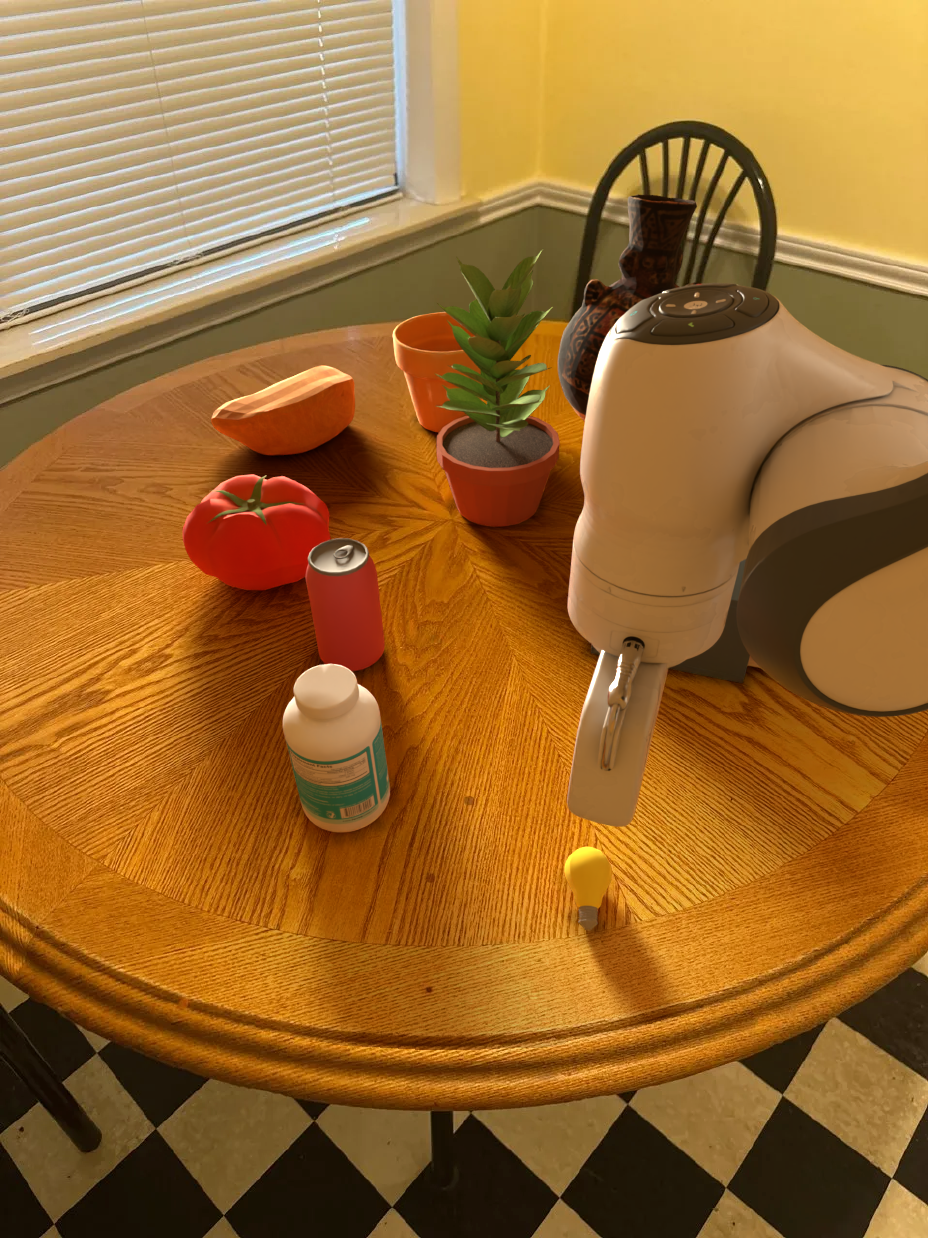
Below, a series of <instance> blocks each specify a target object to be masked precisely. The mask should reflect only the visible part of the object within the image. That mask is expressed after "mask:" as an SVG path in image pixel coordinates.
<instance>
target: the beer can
mask: <svg viewBox="0 0 928 1238" xmlns="http://www.w3.org/2000/svg"><path fill="white" fill-rule="evenodd" d="M308 562H309V563H308V566H307V570H306V576H305V582H306V583H305V584H306V588H307V594H308V599H309V607H310V611H311V617H312V622H313V628H314V633H315V640H316V644H317V650H318V651H317V652H318V656H319V659H320V660H321V661H322V663H323V665H324V664H336V665H341V666H344V667H346V668H348V669H349V670H351V671H352V672H353V673H354V672H358V671H363V670H365V669H367V668H370V667H371V666H372V665H374V664H375V663H377V662H378V661H379V660H380V658H381V657H382V656H383V654H384V651H385V646H386V643H385V634H384V625H383V616H382V605H381V598H380V588H379V578H378V571H377V567H376V565H375V562H374V560H373V558H372V557H371V554H370V551H369V548H368V547H367V546H366V544H364V543H363V542H361V541H359V540H357V539H352V538H349V537H348V538H346V537H338V538H331V540H328V541H325V542H322V543H320V544H319V545H317V546H316V547H314V548H313V549H312V551H311V552H310V553H309V556H308Z"/></svg>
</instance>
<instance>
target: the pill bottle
mask: <svg viewBox="0 0 928 1238" xmlns="http://www.w3.org/2000/svg"><path fill="white" fill-rule="evenodd" d="M293 695H294V696H293V697H292V699H290V701H289V702H288V704H287V706H286V708H285V710H284V712H283V717H282V731H283V735H284V739H285V744H286V748H287V751H288V756H289V761H290V763H291V767H292V773H293V776H294V780H295V784H296V785H295V786H296V788H297V792H298V796H299V800H300V804H301V807H302V810H303V813H304V814H305V816H306V817H307V819H308V820H309V821H310V822H311V823H312V824H313V825H314V826H316V827H318V828H319V829H322V830H324V831H328V832H332V833H350V832H355V831H358V830H361V829H363V828H366V827H368V826H369V825H371V824H372V823H374V822H375V821H376V820H377V819H378V818H379V817H381V815H382V814H383V812H384V811H385V810H386V808H387V806H388V803H389V800H390V796H391V784H390V777H389V769H388V763H387V755H386V747H385V740H384V739H385V738H384V732H383V726H382V725H383V723H382V719H381V718H382V717H381V711H380V706H379V704H378V702H377V700H376V698H375V696H374V695H373V694H372V693H371V692H370V691H369V690H368V689H367V688H365V687H364V686H363V685H361V684H359V683H358V680H357V676H356V674H355V673H354V672H352V671H351V670H349V669H348V668H346V667H344V666H341V665H336V664H324V663H323V664H319V665H316V666H313V667H311V668H308V669H307V670H305V671H304V672H303V673H301V674H300V675H299V676H298V678H297V679H296V680H295V683H294V685H293Z"/></svg>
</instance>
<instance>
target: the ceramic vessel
mask: <svg viewBox="0 0 928 1238" xmlns="http://www.w3.org/2000/svg"><path fill="white" fill-rule="evenodd" d="M697 207H698V204H697V201H695V200H692V199H685V198H684V199H683V198H678V197H668V196H662V195H658V194H648V193H647V194H646V193H645V194H644V193H643V194H639V193H638V194H635V195H629V196H628V197H627V213H628V221H629V222H628V223H629V225H628V226H629V235H628V239H629V240H628V244H627V246H626V247H625V248H624V250H623V251H622V252H621V254H620V256H619V259H618V269H619V270H620V273H621V277H620V279H618V280H617V281H615V282H613V283H612V284H610V285H606V284H604V283H603V282H602V281H601V280H600V279H596V278H592V279H590V280H589V281H588V282H587V284H586V286H585V288H584V292H583V300H582V304H581V307H580V308H579V309H578V310H577V311H576V312H575V313H574V315H573V316H572V318H571V319H570V321H569V322H568V323H567V325H566V327H565V328H564V330H563V331H562V335H561V339H560V343H559V350H558V355H557V375H558V380H559V383H560V387H561V390H562V393H563V395H564V398H565V399H566V400H567V402H568V403H569V405H570V406H571V408H572V409H573V411H574V412H575V413H576V414H577V416H578V417H579V418H580V419H581V420H582V421H583V422H585V418H586V412H587V405H588V399H589V393H590V388H591V383H592V378H593V374H594V370H595V366H596V362H597V359H598V355H599V352H600V349H601V347H602V344H603V342H604V340H605V338H606V336H607V334H608V333H609V331H610V330H611V328H612V327H613V325H614V324H615V323H616V322H617V320H618V319H619V318H620V317H621V316H623V315H624V314H625V313H626V312H627V311H628V310H629V309H631V308H632V307H633V306H635V305H636V304H637V303H639V302H640V301H642V300H644V299H647V298H650V297H652V296H655V295H657V294H660V293H662V292H663V291H666V290H670V289H674V288H679V287H680V285H678V284H677V283H676V282H675V278H676V276H677V275H678V274H679V272H680V270H681V268H682V265H683V260H684V251H683V249H682V247H681V244H682V242H683V239H684V236H685V233H686V231H687V228H688V226H689V224H690V221H691V220H692V217H693V215H694V214H695V212H696V210H697ZM696 284H702V283H701V282H697V281H696V282H695V281H694V282H692V283H688V284H686V285H685V286H689V285H696Z"/></svg>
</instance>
